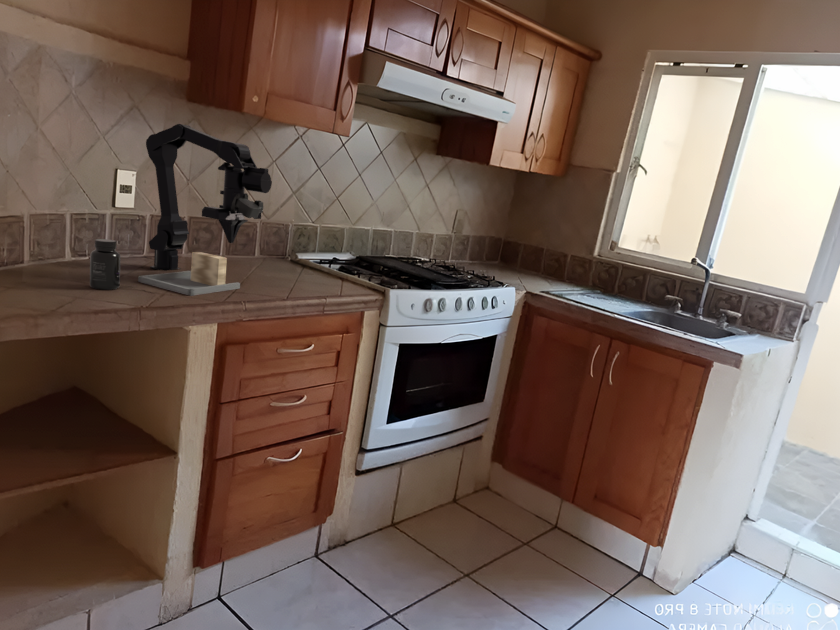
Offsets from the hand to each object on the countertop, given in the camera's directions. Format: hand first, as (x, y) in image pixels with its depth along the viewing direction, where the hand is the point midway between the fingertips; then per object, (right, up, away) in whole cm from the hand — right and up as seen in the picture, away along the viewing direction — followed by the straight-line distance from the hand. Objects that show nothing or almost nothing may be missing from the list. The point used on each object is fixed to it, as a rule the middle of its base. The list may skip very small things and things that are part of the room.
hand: (230, 242), depth 180 cm
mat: (-8, -13, -10) cm, 18 cm away
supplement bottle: (-25, -14, -23) cm, 37 cm away
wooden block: (-5, -12, -5) cm, 14 cm away
